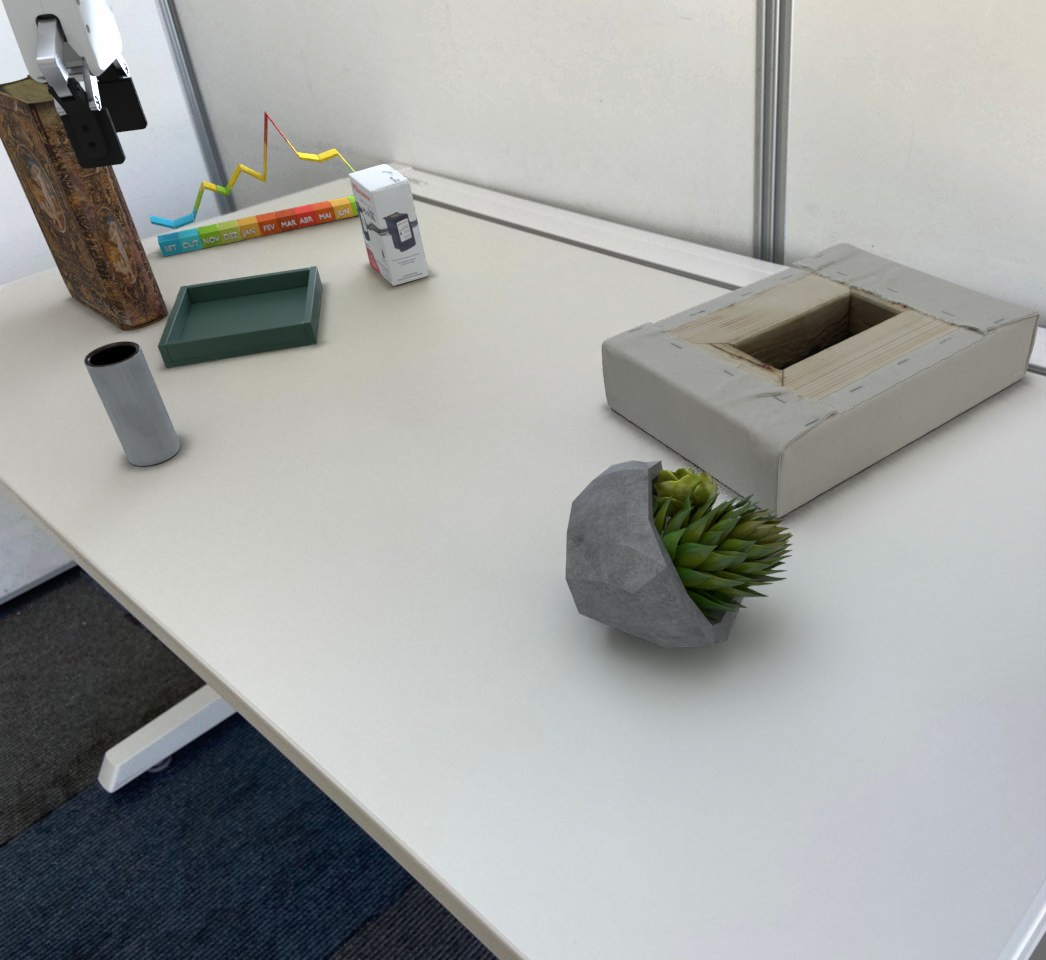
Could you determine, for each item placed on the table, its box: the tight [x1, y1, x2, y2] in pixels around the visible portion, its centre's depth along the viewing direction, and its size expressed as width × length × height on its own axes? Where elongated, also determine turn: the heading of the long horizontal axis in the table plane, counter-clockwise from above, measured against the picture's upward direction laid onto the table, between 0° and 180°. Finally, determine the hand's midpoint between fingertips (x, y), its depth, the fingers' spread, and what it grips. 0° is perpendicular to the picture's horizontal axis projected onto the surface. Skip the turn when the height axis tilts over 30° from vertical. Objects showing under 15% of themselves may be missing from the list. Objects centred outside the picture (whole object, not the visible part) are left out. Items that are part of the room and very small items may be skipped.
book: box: [0, 74, 169, 331], centre depth 109 cm, size 16×6×25 cm, turn 47°
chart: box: [149, 110, 359, 257], centre depth 130 cm, size 30×3×15 cm, turn 115°
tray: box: [157, 265, 323, 369], centre depth 109 cm, size 16×16×3 cm
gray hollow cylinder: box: [83, 340, 181, 467], centre depth 86 cm, size 4×4×10 cm
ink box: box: [348, 163, 430, 287], centre depth 116 cm, size 8×5×12 cm, turn 32°
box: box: [601, 242, 1041, 519], centre depth 88 cm, size 23×8×32 cm
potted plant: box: [564, 460, 794, 649], centre depth 64 cm, size 12×13×15 cm
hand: (117, 146), depth 78 cm, fingers open, 9 cm apart
